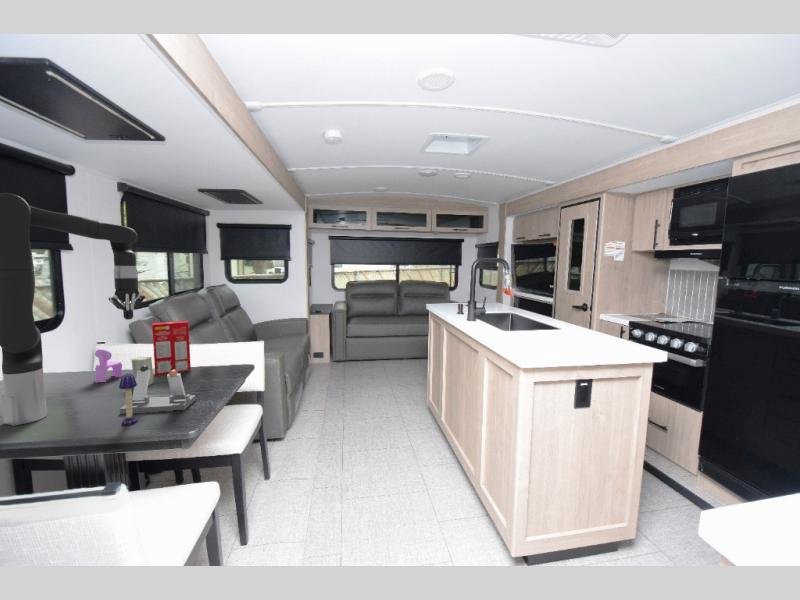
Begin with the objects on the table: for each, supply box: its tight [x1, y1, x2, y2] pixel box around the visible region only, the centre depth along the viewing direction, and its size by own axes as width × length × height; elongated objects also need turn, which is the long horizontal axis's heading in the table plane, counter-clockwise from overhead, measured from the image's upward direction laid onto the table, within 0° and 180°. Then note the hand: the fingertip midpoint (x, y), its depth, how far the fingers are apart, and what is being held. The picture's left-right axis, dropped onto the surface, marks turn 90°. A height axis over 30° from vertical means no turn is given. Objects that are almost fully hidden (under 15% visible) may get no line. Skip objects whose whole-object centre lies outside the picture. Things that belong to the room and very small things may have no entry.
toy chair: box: [93, 348, 123, 383], centre depth 158 cm, size 8×9×15 cm
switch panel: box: [119, 393, 197, 415], centre depth 128 cm, size 10×21×4 cm, turn 100°
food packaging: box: [151, 320, 192, 377], centre depth 170 cm, size 15×5×25 cm, turn 126°
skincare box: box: [131, 356, 154, 386], centre depth 152 cm, size 6×4×12 cm
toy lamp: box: [118, 373, 139, 426], centre depth 114 cm, size 5×5×17 cm
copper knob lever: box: [166, 370, 187, 400], centre depth 127 cm, size 3×4×13 cm, turn 100°
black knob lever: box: [132, 366, 151, 402], centre depth 129 cm, size 3×4×13 cm, turn 100°
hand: (128, 319), depth 140 cm, fingers closed
